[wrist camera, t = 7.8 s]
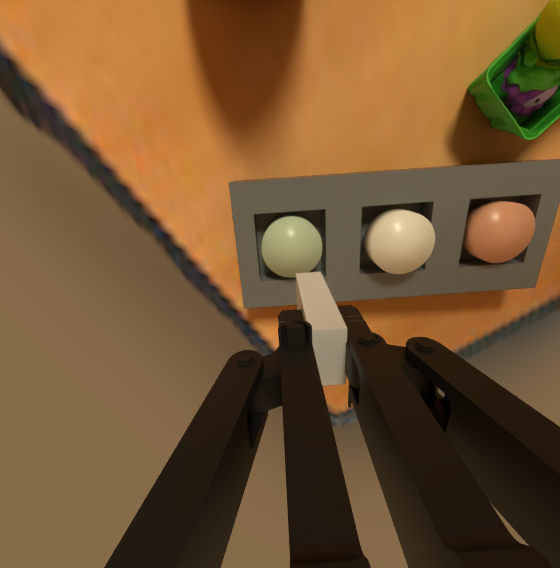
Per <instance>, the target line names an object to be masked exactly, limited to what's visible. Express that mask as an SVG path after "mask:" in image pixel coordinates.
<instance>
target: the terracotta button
mask: <svg viewBox="0 0 560 568" xmlns="http://www.w3.org/2000/svg"><path fill="white" fill-rule="evenodd" d="M534 231H535V217H534V215H533V213H532V211H531V210H530V209H529V208H528V207H527V206H525V205H523V204H520V203H514V202H507V201H500V200H489V201H485V202H482V203H480V204H478V205H477V206H475V207H474V208H472V209H471V210H470V211H469V212H468V213H467V219H466V225H465V230H464V236H463V242H462V249H463V250H464V251H465V252H467V253H468V254H470V255H473V256H475V257H477V258H480V259H482V260H484V261H487V262H490V263H501V262H505V261H508V260H510V259H512V258H514V257H516V256H517V255H519V254H520V253H521V252H522V251H523V250H524V249H525V248H526V247H527V246H528V244H529V243H530V241H531V239H532V237H533V235H534Z"/></svg>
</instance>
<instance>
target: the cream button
mask: <svg viewBox="0 0 560 568" xmlns="http://www.w3.org/2000/svg"><path fill="white" fill-rule="evenodd" d="M434 244H435V232H434V229H433V226H432V224H431V223H430V222H429V220H428V219H427V218H425V217H424V216H422V215H420V214H418V213H414V212H411V211H408V210H404V209H390V210H387V211H385V212H383V213H381V214H379V215H378V216H376V217H375V218H374V219H373V220H372V222H371V223H370V224H369V226H368V228H367V230H366V232H365V236H364V247H365V251H366V253H367V255H368V256H369V258H370V259H371V260H372V261H373V262H374V263H376V264H377V265H378V266H379V267H380V268H381V269H382V270H384V271H386V272H388V273H392V274H405V273H409V272H411V271H414V270H416V269H417V268H419V267H420V266H421V265H423V264H424V263H425V262H426V260H427V259H428V258H429V256H430V255H431V253H432V251H433V248H434Z"/></svg>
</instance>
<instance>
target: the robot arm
mask: <svg viewBox="0 0 560 568" xmlns="http://www.w3.org/2000/svg"><path fill="white" fill-rule="evenodd" d="M296 293H297V310H286V311H282V312H281V313H280V314H279V316H278V320H279V327H278V334H279V347H278V349H277V350H276V351H275V352H273V353H271V354H269V355H266V356H263V357H262V355H261V354H260V353H258V352H257V351H253V350H244V351H240V352H237V353H235V354H234V355H232V356H231V357H230V358H229V360H228V361H227V363H226V365H225V367H224V368H223V370H222V371H221V373H220V375H219V376H218V378H217V380H216V381H215V384H214V385H213V387H212V388H211V390H210V392H209V393H208V395H207V396H206V398H205V400H204V402H203V403H202V405H201V407H200V408H199V410H198V412H197V413H196V415H195V417H194V418H193V420H192V422H191V423H190V425H189V427H188V428H187V430H186V432H185V434H184V435H183V437H182V439H181V440H180V442H179V443H178V445H177V447H176V448H175V450H174V452H173V453H172V455H171V457H170V458H169V460H168V462H167V463H166V465H165V467H164V468H163V470H162V472H161V474H160V475H159V477H158V479H157V480H156V482H155V484H154V485H153V487H152V489H151V490H150V492H149V494H148V495H147V497H146V499H145V500H144V502H143V504H142V505H141V507H140V509H139V510H138V512H137V514H136V515H135V517H134V519H133V521H132V522H131V524H130V525H129V527H128V529H127V530H126V532H125V534H124V535H123V537H122V539H121V541H120V542H119V544H118V546H117V547H116V549H115V551H114V552H113V554H112V556H111V557H110V559H109V561H108V562H107V564H106V566H105V567H104V568H221V564H222V561H223V558H224V555H225V552H226V548H227V545H228V542H229V539H230V536H231V532H232V529H233V526H234V523H235V519H236V516H237V513H238V509H239V506H240V503H241V500H242V497H243V494H244V490H245V487H246V484H247V481H248V478H249V474H250V471H251V468H252V465H253V461H254V458H255V455H256V452H257V448H258V445H259V442H260V438H261V435H262V432H263V429H264V426H265V422H266V420H267V416H268V410H270V409H273V408H276V407H279V406H283V426H284V446H285V464H286V465H285V466H286V486H287V505H288V525H289V543H290V544H289V545H290V568H371V567H370V564H369V562H368V559H367V558H366V557H365V556H364V555H363V553H362V550H361V546H360V542H359V538H358V534H357V530H356V526H355V522H354V517H353V513H352V509H351V505H350V500H349V496H348V492H347V488H346V484H345V479H344V475H343V471H342V467H341V463H340V458H339V454H338V450H337V446H336V442H335V437H334V433H333V429H332V425H331V421H330V416H329V412H328V408H327V404H326V400H325V395H324V391H323V387H322V386H327V385H341V384H346V375H347V378H348V380H349V394H348V407H351V403H353V406H354V409H355V412H356V415H357V418H358V421H359V424H360V427H361V430H362V433H363V436H364V438H365V441H366V444H367V447H368V450H369V453H370V456H371V459H372V462H373V465H374V468H375V471H376V474H377V477H378V480H379V482H380V485H381V488H382V491H383V494H384V497H385V500H386V503H387V506H388V509H389V512H390V514H391V518H392V521H393V524H394V527H395V529H396V532H397V535H398V538H399V541H400V544H401V547H402V550H403V553H404V556H405V559H406V561H407V564H408V568H560V427H559V426H558V425H556V424H555V423H553V422H552V421H551V420H549V419H548V418H546V417H545V416H543V415H542V414H541V413H539V412H538V411H536V410H535V409H533V408H532V407H531V406H529V405H528V404H526V403H525V402H523V401H522V400H520V399H519V398H517V397H516V396H515V395H513V394H512V393H510V392H509V391H508V390H506V389H505V388H503V387H502V386H500V385H499V384H497V383H496V382H495V381H493V380H492V379H490V378H489V377H488V376H486V375H485V374H483V373H482V372H480V371H479V370H478V369H476V368H475V367H473V366H472V365H470V364H469V363H468V362H466V361H465V360H463V359H462V358H460V357H459V356H458V355H456V354H455V353H453V352H452V351H450V350H449V349H448V348H446V347H445V346H443V345H442V344H440V343H439V342H437V341H435V340H432V339H429V338H426V337H414V338H411V339H409V340H408V341H407V342H406V347H402V346H394V345H389V344H386V342H385V340H384V339H383V338H382V337H381V336H380V335H378V334H376V333H372V332H371V330H370V329H369V327H368V325H367V324H366V322H365V320H364V319H363V317H362V316H361V314H360V312H359V311H358V309H356V308H355V307H353V306H351V305H346V306H337V305H336V303H335V301H334V299H333V297H332V295H331V293H330V291H329V288H328V286H327V284H326V282H325V280H324V278H323V276H322V274H321V272H308V273H296ZM438 388H439V389H440V390H442V391H443V392H444V393H445V396H444V397H443V396H441V395H440V394H439V393H438ZM489 501H490V502H489ZM491 504H492V505H493V506H494V507H495V508H496V509H497V510H498V511H499V513H500V514H501V515H502V516H503V517H504V518H505V519H506V520H507V522H508V523H509V524H510V525H511V526H512V527H513V528H514V529H515V531H516V532H517V533H518V534H519V535H520V536H521V537H522V538H523V540H525V542H526V543H527V544H528V545H529V546H527V545H524V544H520V543H519V542H518V541H516V540H515V539H514V538H513V536H512V535H511V534H510V532H509V531H508V530H507V528H506V527H505V525H504V523H503V522H502V520H501V519H500V518H499V516H498V514H497V513H496V511H495V510H494V508H493V507H492V505H491Z"/></svg>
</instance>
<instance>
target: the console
mask: <svg viewBox="0 0 560 568" xmlns="http://www.w3.org/2000/svg"><path fill="white" fill-rule="evenodd" d="M229 189H230V197H231V205H232V213H233V222H234V230H235V238H236V246H237V254H238V262H239V270H240V278H241V286H242V294H243V303H244V308H257V307H271V306H285V305H297V293H296V277H294V278H289V277H283V276H280V275H278V274H276V273H274V272H273V271H272V270H271V269H270V268H269V267H268V266H267V265H266V263H265V261H264V259H263V256H262V238H263V234H264V232H265V230H266V228H267V226H268V225H269V224H270V223H271V222H272V221H273V220H274V219H276V218H278V217H280V216H283V215H288V214H294V215H299V216H302V217H304V218H306V219H307V220H308V221H310V222H311V223H312V224H313V226H314V227H315V228H316V230H317V231H318V233H319V235H320V237H321V240H322V254H321V258H320V260H319V262H318V263H317V265H316V266H315V267H314V268H313V269H312V270H311V271H310V272H321V274H322V276H323V278H324V280H325V282H326V284H327V286H328V288H329V291H330V293H331V295H332V297H333V299H334V301H335V302H340V301H354V300H368V299H382V298H396V297H410V296H424V295H438V294H452V293H466V292H480V291H494V290H508V289H522V288H535V286H536V282H537V279H538V276H539V272H540V269H541V265H542V262H543V258H544V255H545V251H546V248H547V244H548V241H549V237H550V234H551V230H552V227H553V223H554V220H555V216H556V213H557V209H558V206H559V202H560V159H552V160H529V161H514V162H500V163H486V164H471V165H457V166H443V167H428V168H414V169H400V170H385V171H371V172H356V173H342V174H328V175H313V176H299V177H285V178H270V179H256V180H242V181H232V182H229ZM489 200H500V201H507V202H514V203H520V204H523V205H525V206H527V207H528V208H529V209H530V210H531V211H532V213H533V215H534V217H535V231H534V235H533V237H532V239H531V241H530V243H529V244H528V246H527V247H526V248H525V249H524V250H523V251H522V252H521V253H520V254H519V255H517V256H516V257H514V258H512V259H510V260H508V261H505V262H501V263H490V262H487V261H484V260H482V259H480V258H477V257H475V256H473V255H470V254H468V253H467V252H465V251H464V250H463V249H462V242H463V236H464V230H465V225H466V219H467V213H468V212H469V211H470V210H471V209H472V208H474V207H475V206H477V205H478V204H480V203H482V202H485V201H489ZM390 209H404V210H408V211H411V212H414V213H418V214H420V215H422V216H424V217H425V218H427V219H428V220H429V222H430V223H431V224H432V226H433V229H434V232H435V244H434V248H433V251H432V253H431V255H430V256H429V258H428V259H427V260H426V262H425V263H424V264H423V265H421V266H420V267H419V268H417V269H416V270H414V271H411V272H409V273H405V274H392V273H388V272H386V271H384V270H382V269H381V268H380V267H379V266H378V265H377V264H376V263H374V262H373V261H372V260H371V259H370V258H369V256H368V255H367V253H366V251H365V247H364V236H365V232H366V230H367V228H368V226H369V224H370V223H371V222H372V220H373V219H374V218H375V217H376V216H378V215H379V214H381V213H383V212H385V211H387V210H390Z"/></svg>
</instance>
